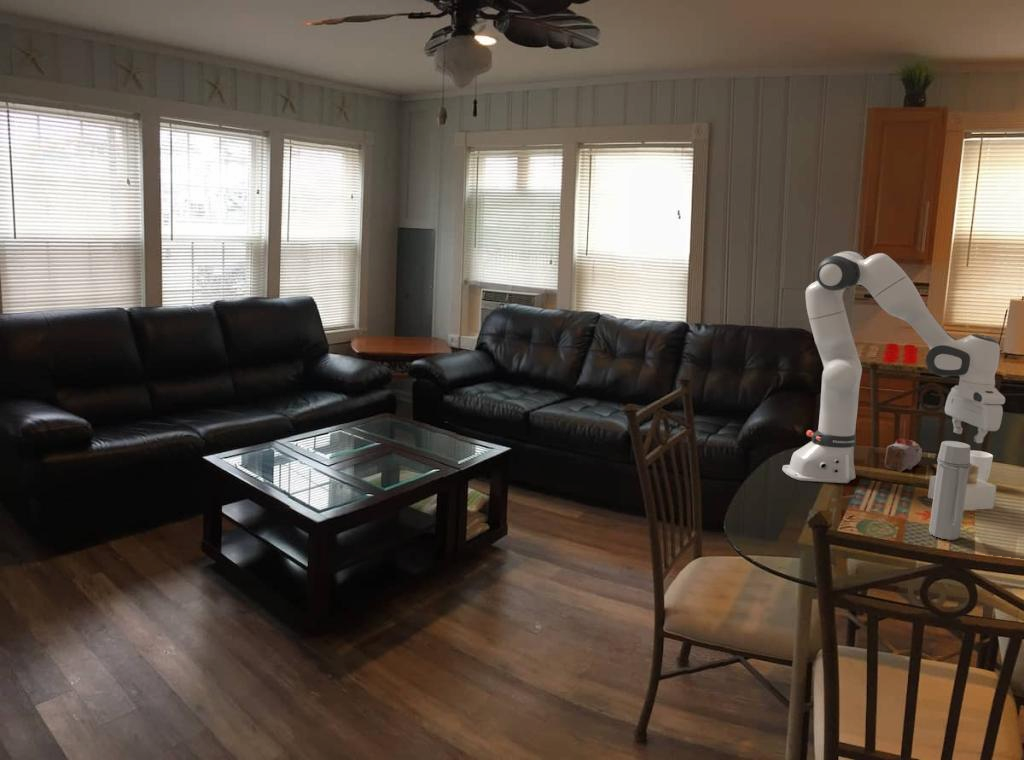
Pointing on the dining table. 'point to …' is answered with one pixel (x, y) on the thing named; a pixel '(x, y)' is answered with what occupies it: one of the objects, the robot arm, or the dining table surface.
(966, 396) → the robot arm
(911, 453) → the food item
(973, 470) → the oak cube
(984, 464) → the white cup
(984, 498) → the white square block
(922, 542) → the dining table surface
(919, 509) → the dining table surface
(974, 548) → the dining table surface
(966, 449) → the water bottle
